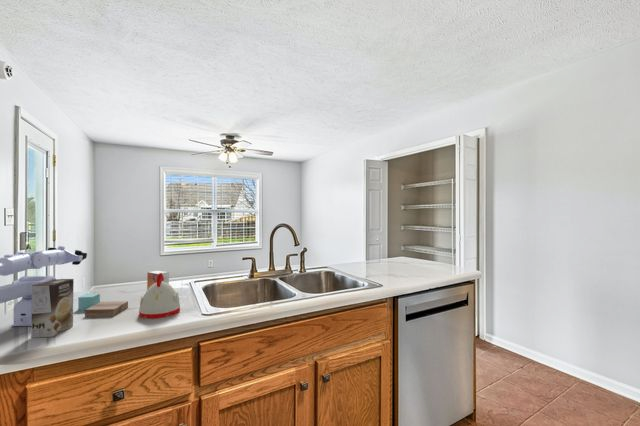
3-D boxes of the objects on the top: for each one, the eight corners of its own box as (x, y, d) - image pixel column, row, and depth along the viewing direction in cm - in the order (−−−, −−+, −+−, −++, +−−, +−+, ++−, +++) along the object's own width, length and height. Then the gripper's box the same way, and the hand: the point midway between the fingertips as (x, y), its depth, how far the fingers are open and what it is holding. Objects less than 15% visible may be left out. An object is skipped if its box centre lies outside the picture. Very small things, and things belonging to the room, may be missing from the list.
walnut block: (114, 317, 114) (114, 309, 114) (84, 317, 113) (84, 309, 113) (127, 308, 124) (128, 301, 124) (101, 309, 123) (101, 301, 123)
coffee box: (53, 337, 95) (53, 285, 95) (30, 338, 94) (30, 285, 94) (73, 326, 104) (74, 278, 104) (53, 326, 103) (53, 278, 103)
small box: (146, 294, 143) (146, 272, 143) (158, 292, 148) (158, 270, 148) (157, 297, 139) (158, 273, 139) (169, 294, 144) (169, 271, 144)
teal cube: (92, 309, 121) (92, 297, 121) (78, 310, 121) (78, 297, 121) (99, 305, 126) (99, 293, 126) (86, 306, 126) (86, 293, 126)
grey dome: (134, 320, 110) (134, 278, 110) (144, 308, 124) (145, 270, 123) (176, 317, 114) (176, 276, 114) (182, 305, 127) (182, 269, 127)
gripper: (72, 249, 115) (95, 246, 129) (31, 244, 114) (59, 243, 128) (69, 268, 115) (93, 263, 128) (28, 263, 114) (56, 260, 127)
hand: (76, 254), depth 128 cm, fingers open, 7 cm apart
